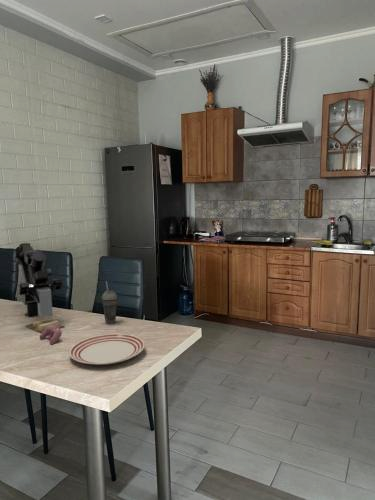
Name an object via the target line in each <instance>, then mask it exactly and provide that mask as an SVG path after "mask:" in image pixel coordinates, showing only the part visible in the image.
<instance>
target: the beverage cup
mask: <svg viewBox="0 0 375 500" xmlns="http://www.w3.org/2000/svg"><path fill="white" fill-rule="evenodd" d="M105 285H106V291H104V293H102V295H101V302H102V306H103V307H102V308H103V314H104V321H105V325H115V324H116V317H117V303H118V295H117V294H116V292H115V291H114V290H111V289H109V287H108V285H109V284H108V281H107V280H106V281H105Z"/></svg>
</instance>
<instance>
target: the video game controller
mask: <svg viewBox="0 0 375 500" xmlns="http://www.w3.org/2000/svg"><path fill="white" fill-rule="evenodd" d="M62 333H63V331H62V330H61V328H60V329H59V327H57V326H48V327H47V328H46V329H45V330H44V332H43V333H40V335H39V339H40V340H41V341H42V340H44V339H46V338H47V337H48V338H47V339H49V344H50V345H54V344H56V343H57V342H58V340H59V339H60V338H61V337H62Z"/></svg>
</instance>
